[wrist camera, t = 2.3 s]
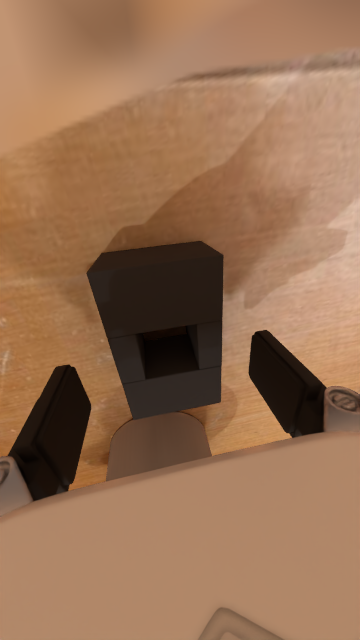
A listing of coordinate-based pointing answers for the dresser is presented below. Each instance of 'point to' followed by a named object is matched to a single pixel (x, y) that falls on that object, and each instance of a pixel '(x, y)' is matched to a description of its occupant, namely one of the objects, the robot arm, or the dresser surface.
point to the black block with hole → (163, 323)
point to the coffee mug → (156, 444)
